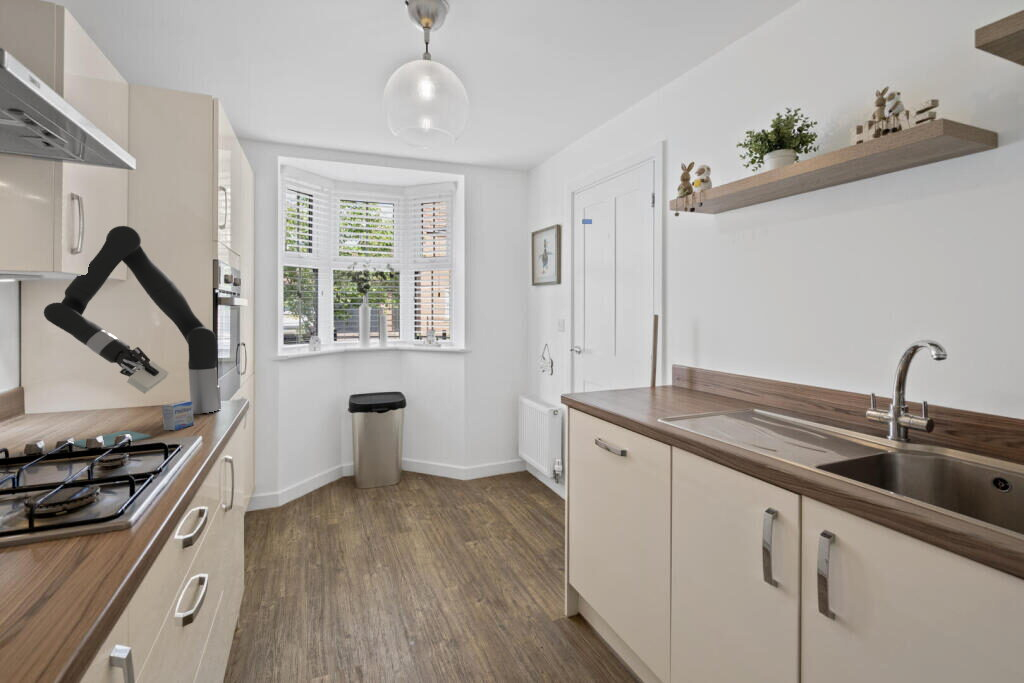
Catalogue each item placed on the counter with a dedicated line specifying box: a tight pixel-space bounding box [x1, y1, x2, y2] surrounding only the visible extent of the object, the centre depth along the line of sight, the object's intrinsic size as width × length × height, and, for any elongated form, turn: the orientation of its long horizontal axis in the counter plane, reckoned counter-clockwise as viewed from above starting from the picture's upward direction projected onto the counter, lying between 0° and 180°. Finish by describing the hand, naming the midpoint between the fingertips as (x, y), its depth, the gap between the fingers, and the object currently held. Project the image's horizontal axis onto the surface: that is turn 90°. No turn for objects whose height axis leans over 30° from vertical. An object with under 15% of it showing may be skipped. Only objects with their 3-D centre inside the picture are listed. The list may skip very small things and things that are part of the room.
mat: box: [72, 429, 152, 449], centre depth 150 cm, size 15×14×1 cm
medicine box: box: [161, 400, 194, 432], centre depth 165 cm, size 8×4×9 cm, turn 168°
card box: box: [126, 361, 170, 394], centre depth 167 cm, size 4×6×10 cm
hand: (154, 377), depth 168 cm, fingers closed on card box, 3 cm apart
